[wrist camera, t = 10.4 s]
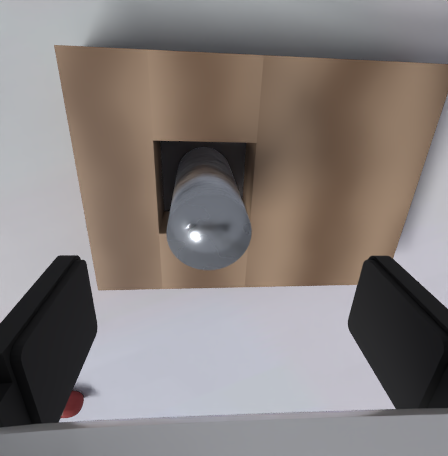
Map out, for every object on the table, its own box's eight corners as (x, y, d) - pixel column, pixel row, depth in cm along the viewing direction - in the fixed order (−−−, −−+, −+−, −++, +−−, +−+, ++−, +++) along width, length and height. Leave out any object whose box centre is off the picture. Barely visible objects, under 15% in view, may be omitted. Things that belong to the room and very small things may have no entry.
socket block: (414, 66, 19) (456, 64, 16) (361, 258, 25) (384, 284, 22) (79, 50, 17) (53, 45, 14) (111, 261, 23) (98, 290, 20)
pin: (231, 147, 20) (254, 194, 12) (229, 198, 22) (248, 269, 14) (176, 146, 20) (164, 194, 12) (178, 198, 22) (168, 271, 14)
